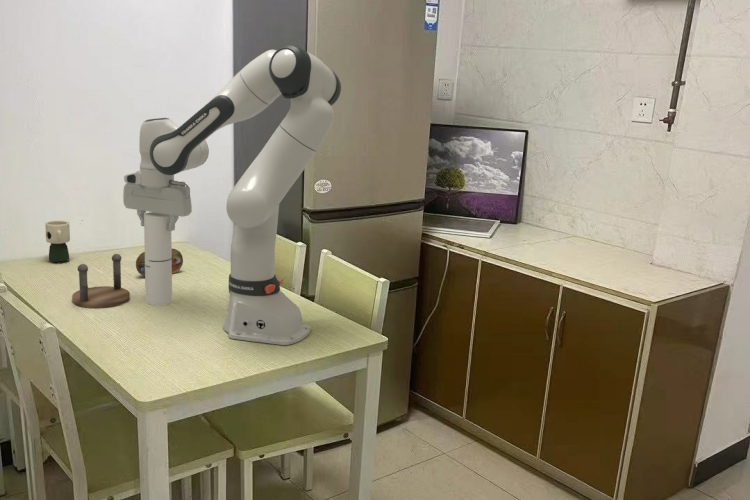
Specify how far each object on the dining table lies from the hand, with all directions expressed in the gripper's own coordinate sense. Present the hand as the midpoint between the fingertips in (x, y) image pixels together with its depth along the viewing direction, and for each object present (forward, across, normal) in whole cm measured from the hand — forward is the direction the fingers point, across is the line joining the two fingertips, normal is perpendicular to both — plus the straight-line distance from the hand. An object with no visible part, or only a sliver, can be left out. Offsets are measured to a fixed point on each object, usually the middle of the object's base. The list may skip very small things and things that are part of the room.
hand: (157, 228), depth 190 cm
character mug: (+21, +52, -16) cm, 58 cm away
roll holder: (+21, +14, +7) cm, 26 cm away
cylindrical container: (+21, 0, 0) cm, 21 cm away
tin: (+22, +16, -21) cm, 34 cm away
